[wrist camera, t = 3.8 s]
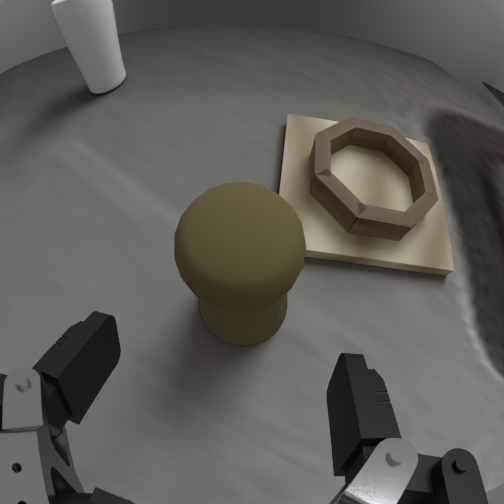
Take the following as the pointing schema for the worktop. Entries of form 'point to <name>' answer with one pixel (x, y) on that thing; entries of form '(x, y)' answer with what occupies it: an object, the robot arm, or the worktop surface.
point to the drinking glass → (92, 41)
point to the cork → (240, 259)
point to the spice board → (365, 195)
